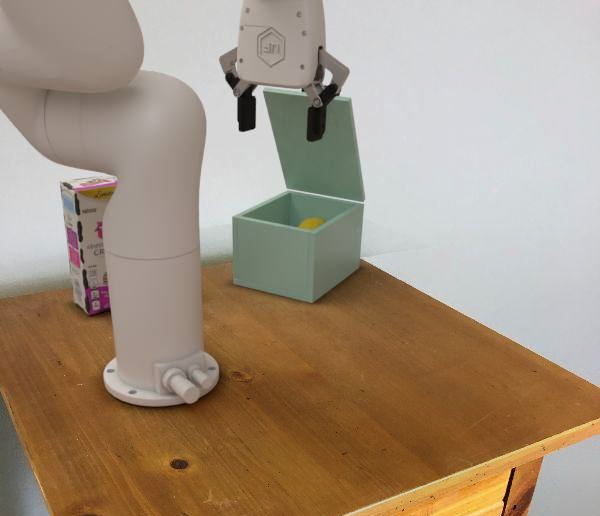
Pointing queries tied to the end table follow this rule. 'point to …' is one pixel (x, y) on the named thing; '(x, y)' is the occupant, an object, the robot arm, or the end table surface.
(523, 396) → the end table surface
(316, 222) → the lemon
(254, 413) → the end table surface
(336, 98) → the lid
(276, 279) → the green box
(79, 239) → the candy bar box
